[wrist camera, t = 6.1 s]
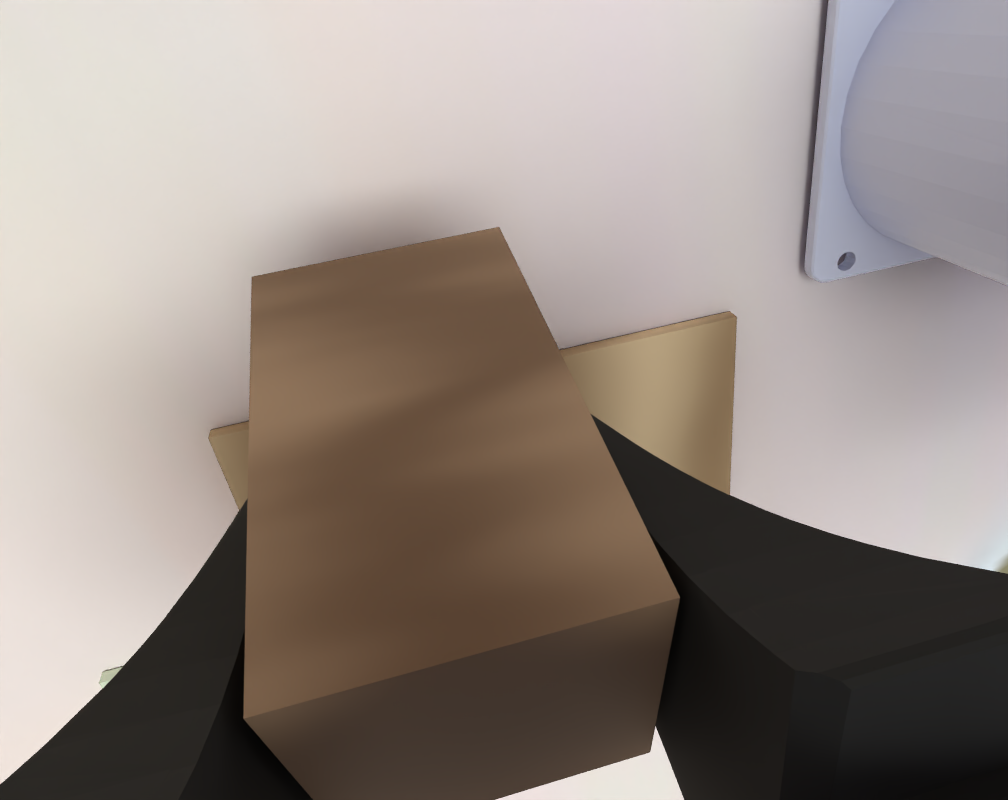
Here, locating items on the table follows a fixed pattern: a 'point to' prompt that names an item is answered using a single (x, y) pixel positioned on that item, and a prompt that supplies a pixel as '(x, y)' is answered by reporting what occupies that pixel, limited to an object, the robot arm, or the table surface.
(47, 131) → the table surface
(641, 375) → the mat
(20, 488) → the table surface
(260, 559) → the block
